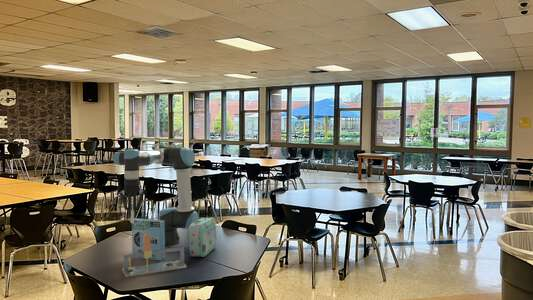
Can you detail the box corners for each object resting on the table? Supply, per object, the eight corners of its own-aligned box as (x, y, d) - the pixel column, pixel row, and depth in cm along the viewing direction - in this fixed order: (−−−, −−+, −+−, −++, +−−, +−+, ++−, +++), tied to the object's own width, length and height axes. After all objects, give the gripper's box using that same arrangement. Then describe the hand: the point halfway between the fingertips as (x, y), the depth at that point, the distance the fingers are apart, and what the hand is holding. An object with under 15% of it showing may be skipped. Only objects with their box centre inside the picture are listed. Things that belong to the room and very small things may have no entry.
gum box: (165, 258, 237) (165, 220, 236) (160, 261, 232) (160, 221, 231) (136, 255, 243) (136, 217, 242) (131, 257, 238) (131, 219, 237)
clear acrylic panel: (123, 270, 212) (123, 254, 212) (183, 261, 227) (182, 246, 227) (124, 272, 210) (124, 255, 209) (184, 263, 225) (184, 247, 224)
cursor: (142, 267, 217) (142, 234, 217) (150, 265, 219) (149, 233, 219) (144, 269, 214) (143, 236, 213) (151, 268, 216) (151, 235, 215)
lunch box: (203, 260, 234) (203, 223, 233) (186, 259, 236) (186, 222, 235) (218, 247, 260) (218, 214, 259) (202, 246, 262) (202, 213, 261)
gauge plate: (122, 270, 216) (122, 267, 216) (180, 261, 231) (180, 258, 231) (125, 277, 206) (125, 273, 206) (186, 267, 221) (186, 264, 221)
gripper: (119, 179, 207) (120, 225, 208) (145, 178, 213) (146, 222, 214) (117, 178, 213) (118, 222, 214) (143, 177, 220) (143, 220, 220)
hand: (132, 222), depth 214 cm, fingers closed
